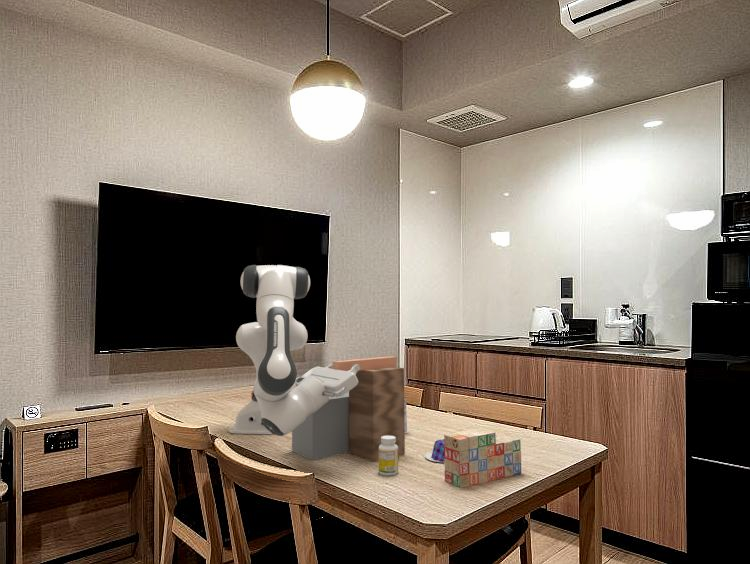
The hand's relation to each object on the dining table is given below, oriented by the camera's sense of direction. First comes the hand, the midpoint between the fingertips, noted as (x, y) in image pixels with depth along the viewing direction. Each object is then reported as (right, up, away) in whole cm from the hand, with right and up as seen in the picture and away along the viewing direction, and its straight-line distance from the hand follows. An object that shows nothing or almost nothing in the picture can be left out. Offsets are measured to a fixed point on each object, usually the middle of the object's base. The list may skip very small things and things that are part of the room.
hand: (348, 364), depth 167 cm
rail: (+5, -2, +4) cm, 7 cm away
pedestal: (-7, -28, +10) cm, 31 cm away
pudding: (+28, -28, +1) cm, 40 cm away
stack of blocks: (+36, -27, -18) cm, 49 cm away
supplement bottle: (+11, -28, -13) cm, 33 cm away
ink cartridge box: (+15, -29, +29) cm, 44 cm away
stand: (+8, -28, +6) cm, 30 cm away
